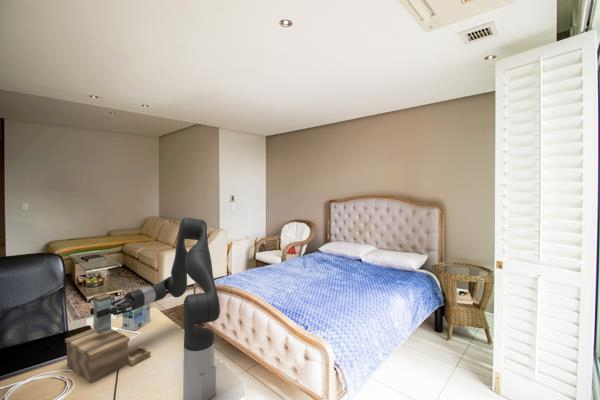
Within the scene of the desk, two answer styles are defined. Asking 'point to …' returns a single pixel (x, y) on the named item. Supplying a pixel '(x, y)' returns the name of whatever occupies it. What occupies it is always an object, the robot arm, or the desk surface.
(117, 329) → the photo frame
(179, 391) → the desk surface
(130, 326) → the light bulb box
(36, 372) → the desk surface
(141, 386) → the desk surface
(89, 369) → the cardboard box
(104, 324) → the grey block with cap
